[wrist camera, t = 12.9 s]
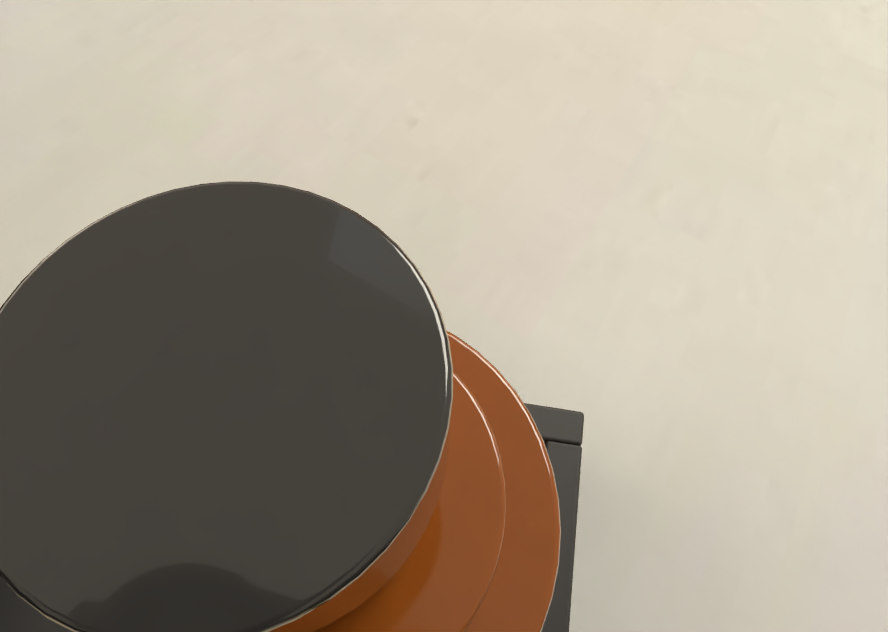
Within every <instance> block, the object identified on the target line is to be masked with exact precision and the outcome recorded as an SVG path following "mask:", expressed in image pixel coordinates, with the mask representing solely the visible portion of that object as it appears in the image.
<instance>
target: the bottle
mask: <svg viewBox="0 0 888 632" xmlns="http://www.w3.org/2000/svg"><path fill="white" fill-rule="evenodd" d="M560 538H561V525H560V510H559V498H558V493H557V488H556V483H555V477H554V472H553V468H552V465H551V462H550V459H549V456H548V453H547V450H546V447H545V444H544V441H543V439H542V437H541V435H540V433H539V430H538V428H537V426H536V424H535V422H534V420H533V418H532V416H531V414H530V413H529V411H528V409H527V408H526V406H525V405H524V403H523V402H522V400H521V399H520V397H519V395H518V394H517V392H516V391H515V390H514V388H513V387H512V386H511V385H510V384H509V383H508V381H507V380H506V379H505V378H504V377H503V375H502V374H501V373H500V372H499V371H498V370H497V369H496V368H495V367H494V366H493V365H492V364H491V363H490V362H489V361H488V360H487V359H486V358H484V357H483V356H482V355H481V354H480V353H479V352H478V351H477V350H475V349H474V348H472V347H471V346H470V345H468V344H467V343H465V342H464V341H463V340H461V339H460V338H458V337H457V336H455V335H453V334H452V333H450V332H448V331H446V328H445V324H444V321H443V317H442V314H441V312H440V309H439V307H438V305H437V303H436V300H435V298H434V296H433V294H432V291H431V289H430V287H429V286H428V284H427V283H426V281H425V280H424V278H423V276H422V275H421V273H420V272H419V270H418V268H417V267H416V266H415V264H414V263H413V262H412V261H411V260H410V258H409V257H408V256H407V255H406V254H405V253H404V251H403V250H402V249H401V248H400V247H399V246H398V245H397V244H396V243H395V242H394V241H393V240H392V239H391V238H389V237H388V236H387V235H386V234H385V233H384V232H383V231H382V230H381V229H379V228H378V227H377V226H375V225H374V224H372V223H371V222H370V221H368V220H367V219H365V218H364V217H362V216H361V215H359V214H358V213H356V212H354V211H353V210H351V209H349V208H347V207H345V206H343V205H341V204H339V203H337V202H335V201H333V200H330V199H328V198H325V197H322V196H319V195H317V194H314V193H311V192H308V191H304V190H300V189H296V188H292V187H288V186H283V185H276V184H268V183H260V182H220V183H209V184H199V185H194V186H189V187H184V188H179V189H174V190H170V191H167V192H164V193H160V194H157V195H154V196H150V197H147V198H144V199H142V200H139V201H137V202H134V203H132V204H130V205H127V206H125V207H122V208H120V209H118V210H116V211H114V212H112V213H110V214H108V215H106V216H104V217H103V218H101V219H99V220H97V221H95V222H93V223H91V224H90V225H88V226H87V227H85V228H84V229H82V230H81V231H79V232H78V233H76V234H75V235H73V236H72V237H71V238H69V239H68V240H66V241H65V242H64V243H63V244H61V245H60V246H59V247H58V248H56V249H55V250H54V251H53V252H52V253H50V254H49V255H48V256H47V257H46V258H44V259H43V260H42V261H41V262H40V263H39V264H38V265H37V266H36V267H35V268H34V269H33V270H32V271H31V272H30V273H29V274H28V275H27V276H26V277H25V278H24V279H23V280H22V281H21V283H20V284H19V285H18V286H17V288H16V289H15V290H14V291H13V293H12V294H11V295H10V296H9V298H8V299H7V300H6V301H5V303H4V304H3V305H2V307H1V308H0V577H1V578H2V579H3V580H4V582H5V583H6V584H7V585H8V586H9V587H10V588H11V589H12V590H13V591H14V592H15V593H16V594H17V595H18V596H19V597H20V598H21V599H22V600H24V601H25V602H26V603H28V604H29V605H30V606H32V607H33V608H34V609H35V610H37V611H38V612H39V613H41V614H42V615H43V616H45V617H46V618H48V619H50V620H52V621H54V622H56V623H58V624H60V625H62V626H63V627H65V628H67V629H69V630H71V631H73V632H541V631H542V628H543V625H544V622H545V619H546V616H547V613H548V610H549V607H550V604H551V601H552V597H553V593H554V587H555V582H556V577H557V572H558V566H559V555H560Z"/></svg>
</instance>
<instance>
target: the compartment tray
mask: <svg viewBox="0 0 888 632" xmlns="http://www.w3.org/2000/svg"><path fill="white" fill-rule="evenodd" d="M524 405H525V406H526V408H527V409H528V411H529V413H530V414H531V416H532V418H533V420H534V422H535V424H536V426H537V428H538V430H539V433H540V435H541V437H542V439H543V441H544V444H545V447H546V450H547V453H548V456H549V459H550V462H551V465H552V468H553V472H554V477H555V483H556V488H557V493H558V498H559V510H560V525H561V538H560V555H559V566H558V572H557V577H556V582H555V587H554V593H553V597H552V601H551V604H550V607H549V610H548V613H547V616H546V619H545V622H544V625H543V628H542V631H541V632H569V621H570V607H571V593H572V579H573V565H574V551H575V537H576V523H577V509H578V495H579V481H580V467H581V453H582V448H581V444H582V436H583V422H584V415H583V413H581V412H577V411H571V410H564V409H558V408H551V407H545V406H539V405H532V404H526V403H524ZM0 632H73V631H71V630H69V629H67V628H65V627H63V626H62V625H60V624H58V623H56V622H54V621H52V620H50V619H48V618H46V617H45V616H43V615H42V614H41V613H39V612H38V611H37V610H35V609H34V608H33V607H32V606H30V605H29V604H28V603H26V602H25V601H24V600H22V599H21V598H20V597H19V596H18V595H17V594H16V593H15V592H14V591H13V590H12V589H11V588H10V587H9V586H8V585H7V584H6V583H5V582H4V580H3V579H2V578H1V577H0Z"/></svg>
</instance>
